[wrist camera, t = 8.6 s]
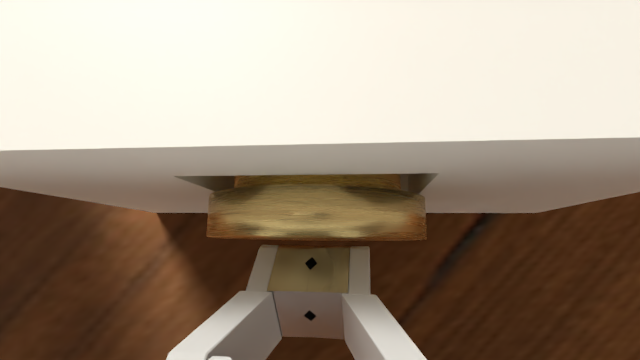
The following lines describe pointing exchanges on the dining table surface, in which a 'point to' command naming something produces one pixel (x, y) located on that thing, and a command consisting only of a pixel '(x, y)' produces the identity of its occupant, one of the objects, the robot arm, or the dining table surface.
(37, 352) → the dining table surface
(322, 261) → the robot arm
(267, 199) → the brass plug
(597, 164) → the socket block
